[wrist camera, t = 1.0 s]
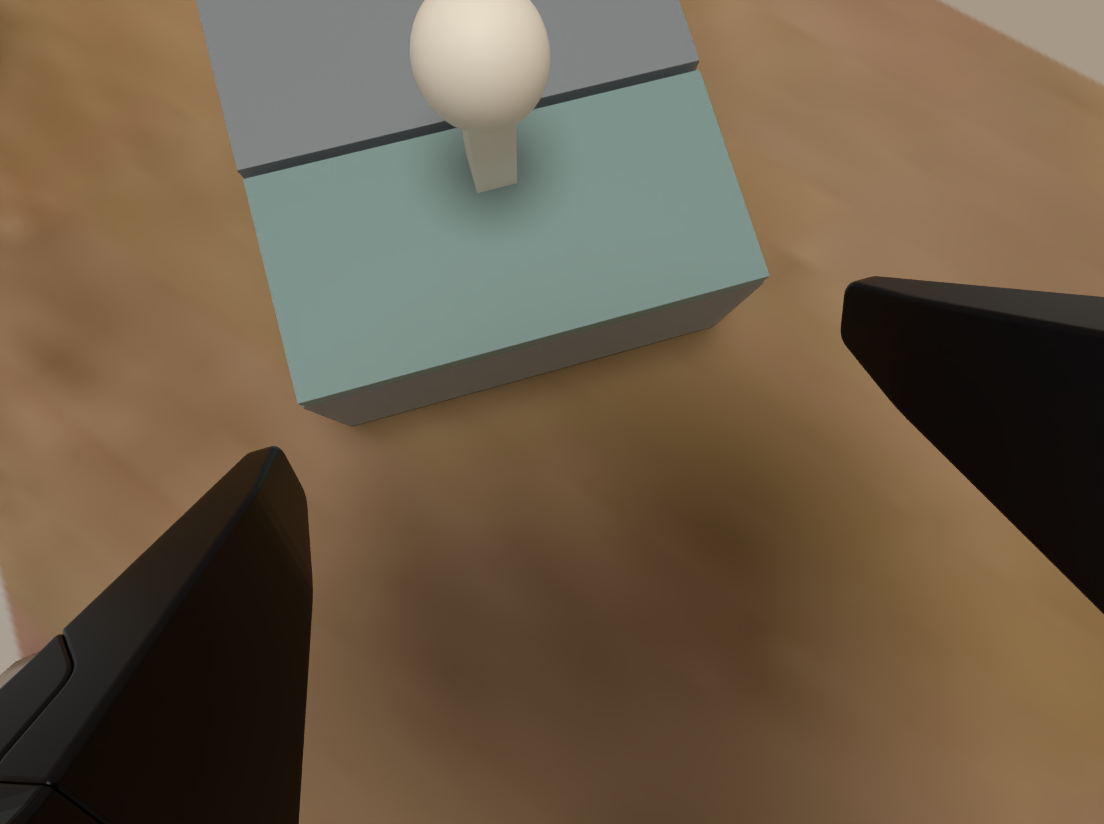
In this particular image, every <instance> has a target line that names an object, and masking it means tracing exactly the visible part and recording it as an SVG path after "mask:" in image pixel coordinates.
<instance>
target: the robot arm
mask: <svg viewBox="0 0 1104 824" xmlns="http://www.w3.org/2000/svg"><path fill="white" fill-rule="evenodd" d="M841 336H842V340H843V342H844V344H845V345H846V347H847V348H848V349H849V350H850V352H851V353H852V354H853V355H854V357H855V358H856V359H857V360H858V361H859V363H860V364H861V365H862V366H863V368H864V369H865V370H866V371H867V373H868V374H869V375H870V376H871V378H872V379H873V380H874V381H875V382H876V384H877V385H878V386H879V387H880V389H881V390H882V391H883V392H884V394H885V395H886V396H887V397H888V399H889V400H890V401H891V402H892V403H893V404H894V406H895V407H896V408H897V409H898V410H899V411H900V412H901V413H902V414H903V415H904V416H905V417H906V418H907V419H908V420H909V421H910V422H911V423H912V424H913V425H914V426H915V427H916V428H917V429H918V430H919V431H920V432H921V433H922V434H923V435H924V436H925V437H926V438H927V439H928V440H929V441H930V442H931V443H932V444H933V445H934V446H935V447H936V448H937V449H938V450H939V451H940V452H941V453H942V454H943V455H944V456H945V457H946V458H947V459H948V460H949V461H950V462H951V463H952V464H953V465H954V466H955V467H956V468H957V469H958V470H959V471H960V472H961V473H962V474H963V475H964V476H965V477H966V478H967V479H968V480H969V481H970V482H971V483H972V484H973V485H974V486H975V487H976V488H977V489H978V490H979V491H980V492H981V493H982V494H983V495H984V496H985V497H986V498H987V499H988V500H989V501H990V502H991V503H992V504H993V505H994V506H995V507H996V508H997V509H998V510H999V511H1000V512H1001V513H1002V514H1003V515H1004V516H1005V517H1006V518H1007V519H1008V520H1009V521H1010V522H1011V523H1012V524H1013V525H1014V526H1015V527H1016V528H1017V529H1018V530H1019V531H1020V532H1021V533H1022V534H1023V535H1024V536H1025V537H1026V538H1027V539H1028V540H1029V541H1031V542H1032V543H1033V544H1034V545H1035V546H1036V547H1037V548H1038V549H1039V550H1040V551H1041V552H1042V553H1043V554H1044V555H1045V556H1046V557H1047V558H1048V559H1049V560H1050V561H1051V562H1052V563H1053V564H1054V565H1055V566H1056V567H1057V568H1058V569H1059V570H1060V571H1061V572H1062V573H1063V574H1064V575H1065V576H1066V577H1067V578H1068V579H1069V580H1070V581H1071V582H1072V583H1073V584H1074V585H1075V586H1076V587H1077V588H1078V589H1079V590H1080V591H1081V592H1082V593H1083V594H1084V595H1085V596H1086V597H1087V598H1088V599H1089V600H1090V601H1091V602H1092V603H1093V604H1094V605H1095V606H1096V607H1097V608H1098V609H1099V610H1100V611H1101V612H1102V613H1103V614H1104V297H1097V296H1086V295H1075V294H1064V293H1053V292H1042V291H1032V290H1021V289H1010V288H999V287H988V286H977V285H966V284H955V283H944V282H933V281H922V280H912V279H901V278H890V277H879V276H873V277H868V278H865V279H861V280H858V281H854V282H852V283H850V284H849V285H848V286H847V288H846V290H845V294H844V302H843V312H842V321H841ZM312 602H313V582H312V566H311V552H310V538H309V523H308V509H307V500H306V496H305V492H304V490H303V488H302V486H301V484H300V482H299V480H298V478H297V476H296V474H295V472H294V471H293V469H292V467H291V465H290V463H289V461H288V459H287V458H286V456H285V454H284V452H283V451H282V450H281V449H280V448H279V447H277V446H271V447H267V448H264V449H260V450H257V451H253V452H250V453H248V454H247V455H246V456H244V457H243V458H242V459H241V460H240V461H239V462H238V463H237V464H236V465H235V466H234V467H233V468H232V469H231V470H230V471H229V472H228V473H227V474H226V475H225V476H223V477H222V478H221V479H220V480H219V481H218V482H217V483H216V484H215V485H214V486H213V487H212V488H211V489H210V490H209V491H208V492H207V493H206V494H205V495H204V496H203V497H201V498H200V499H199V500H198V501H197V502H196V503H195V504H194V505H193V506H192V507H191V508H190V509H189V510H188V511H187V512H186V513H185V514H184V515H183V516H182V517H181V518H179V519H178V520H177V521H176V522H175V523H174V524H173V525H172V526H171V527H170V528H169V529H168V530H167V531H166V532H165V533H164V534H163V535H162V536H161V537H160V538H158V539H157V540H156V541H155V542H154V543H153V544H152V545H151V546H150V547H149V548H148V549H147V550H146V551H145V552H144V553H143V554H142V555H141V556H140V557H139V558H138V559H136V560H135V561H134V562H133V563H132V564H131V565H130V566H129V567H128V568H127V569H126V570H125V571H124V572H123V573H122V574H121V575H120V576H119V577H118V578H117V579H116V580H114V581H113V582H112V583H111V584H110V585H109V586H108V587H107V588H106V589H105V590H104V591H103V592H102V593H101V594H100V595H99V596H98V597H97V598H96V599H95V600H93V601H92V602H91V603H90V604H89V605H88V606H87V607H86V608H85V609H84V610H83V611H82V612H81V613H80V614H79V615H78V616H77V617H76V618H75V619H74V620H73V621H71V622H70V623H69V624H68V625H67V626H66V627H65V628H64V629H63V635H61V634H60V635H57V636H55V637H54V638H53V639H52V640H51V641H50V642H49V643H48V644H47V645H46V646H45V647H44V648H43V649H42V650H41V651H40V652H39V653H38V654H37V655H36V656H35V657H34V658H33V659H31V660H30V661H29V662H28V663H27V664H26V665H25V666H24V667H23V668H22V669H21V670H20V671H19V672H17V673H16V674H15V675H14V676H13V677H12V678H11V679H10V680H9V681H8V682H7V683H6V684H5V685H3V686H2V687H1V688H0V824H299V809H300V793H301V778H302V762H303V746H304V730H305V714H306V699H307V683H308V667H309V651H310V636H311V620H312Z"/></svg>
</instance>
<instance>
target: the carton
mask: <svg viewBox="0 0 1104 824" xmlns="http://www.w3.org/2000/svg"><path fill="white" fill-rule="evenodd" d="M530 1H531V2H532V3H533V5H534V6H535V7H536V9H537V11H538V12H539V14H540V16H541V18H542V21H543V23H544V26H545V28H546V31H547V36H548V40H549V45H550V70H549V76H548V81H547V84H546V87H545V89H544V92H543V94H542V96H541V98H540V100H539V102H538V103H537V105H536V106H535V108H534V109H538V108H542V107H546V106H550V105H554V104H558V103H563V102H567V101H571V100H575V99H579V98H583V97H588V96H592V95H596V94H600V93H604V92H608V91H613V90H617V89H621V88H625V87H629V86H633V85H638V84H642V83H646V82H650V81H654V80H658V79H663V78H667V77H671V76H675V75H679V74H683V73H688V72H692V71H695V70H696V67H697V65H698V63H699V57H698V54H697V51H696V48H695V45H694V42H693V39H692V37H691V34H690V31H689V28H688V25H687V22H686V19H685V16H684V13H683V10H682V7H681V4H680V1H679V0H530ZM423 2H424V0H196V3H197V8H198V12H199V16H200V20H201V24H202V28H203V32H204V36H205V40H206V45H207V49H208V53H209V57H210V61H211V65H212V69H213V73H214V78H215V82H216V86H217V90H218V94H219V98H220V102H221V106H222V110H223V115H224V119H225V123H226V127H227V131H228V135H229V139H230V143H231V147H232V152H233V156H234V160H235V164H236V168H237V171H238V172H239V173H240V174H241V175H242V177H243V178H244V179H246V178H250V177H254V176H258V175H263V174H267V173H271V172H275V171H279V170H283V169H288V168H292V167H296V166H300V165H304V164H308V163H313V162H317V161H321V160H325V159H329V158H333V157H338V156H342V155H346V154H350V153H354V152H358V151H363V150H367V149H371V148H375V147H379V146H383V145H388V144H392V143H396V142H400V141H404V140H408V139H413V138H417V137H421V136H425V135H429V134H433V133H438V132H442V131H446V130H450V129H454V128H457V127H454V126H452V125H451V124H449V123H448V122H446V121H445V120H443V119H442V118H441V117H440V116H438V115H437V114H436V112H435V111H434V110H433V109H432V108H431V107H430V106H429V105H428V103H427V102H426V100H425V99H424V97H423V96H422V94H421V92H420V90H419V88H418V86H417V83H416V80H415V78H414V75H413V71H412V66H411V60H410V36H411V32H412V27H413V23H414V20H415V17H416V15H417V12H418V10H419V8H420V7H421V5H422V3H423ZM763 283H764V281H763V282H762V283H759V284H756V285H752V286H748V287H744V288H741V289H737V290H733V291H730V292H726V293H722V294H719V295H715V296H711V297H708V298H704V299H700V300H697V301H693V302H689V303H686V304H682V305H678V306H675V307H671V308H667V309H663V310H660V311H656V312H652V313H649V314H645V315H641V316H638V317H634V318H630V319H627V320H623V321H619V322H616V323H612V324H608V325H605V326H601V327H597V328H594V329H590V330H586V331H582V332H579V333H575V334H571V335H568V336H564V337H560V338H557V339H553V340H549V341H546V342H542V343H538V344H535V345H531V346H527V347H524V348H520V349H516V350H513V351H509V352H505V353H501V354H498V355H494V356H490V357H487V358H483V359H479V360H476V361H472V362H468V363H465V364H461V365H457V366H454V367H450V368H446V369H443V370H439V371H435V372H432V373H428V374H424V375H420V376H417V377H413V378H409V379H406V380H402V381H398V382H395V383H391V384H387V385H384V386H380V387H376V388H373V389H369V390H365V391H362V392H358V393H354V394H351V395H347V396H343V397H339V398H336V399H332V400H328V401H325V402H321V403H317V404H314V405H310V406H306V407H305V406H302V408H304V409H307V410H309V411H312V412H314V413H317V414H320V415H322V416H325V417H328V418H330V419H333V420H336V421H338V422H341V423H344V424H346V425H349V426H355V425H358V424H362V423H366V422H369V421H373V420H377V419H380V418H384V417H387V416H391V415H395V414H398V413H402V412H406V411H409V410H413V409H416V408H420V407H424V406H427V405H431V404H435V403H438V402H442V401H445V400H449V399H453V398H456V397H460V396H464V395H467V394H471V393H474V392H478V391H482V390H485V389H489V388H493V387H496V386H500V385H503V384H507V383H511V382H514V381H518V380H522V379H525V378H529V377H532V376H536V375H540V374H543V373H547V372H551V371H554V370H558V369H561V368H565V367H569V366H572V365H576V364H580V363H583V362H587V361H590V360H594V359H598V358H601V357H605V356H609V355H612V354H616V353H619V352H623V351H627V350H630V349H634V348H638V347H641V346H645V345H648V344H652V343H656V342H659V341H663V340H667V339H670V338H674V337H677V336H681V335H685V334H688V333H692V332H696V331H699V330H703V329H706V328H710V327H713V326H715V325H716V324H717V323H718V322H719V321H720V320H722V319H723V318H724V317H725V316H726V315H727V314H728V313H730V312H731V311H732V310H733V309H734V308H735V307H737V306H738V305H739V304H740V303H741V302H742V301H743V300H745V299H746V298H747V297H748V296H749V295H750V294H752V293H753V292H754V291H755V290H756V289H757V288H758V287H760V286H761V285H762V284H763Z"/></svg>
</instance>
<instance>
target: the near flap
mask: <svg viewBox="0 0 1104 824" xmlns="http://www.w3.org/2000/svg"><path fill="white" fill-rule="evenodd" d="M410 60H411V66H412V71H413V75H414V78H415V80H416V83H417V86H418V88H419V90H420V92H421V94H422V96H423V97H424V99H425V100H426V102H427V103H428V105H429V106H430V107H431V108H432V109H433V110H434V111H435V112H436V114H437V115H438V116H440V117H441V118H442V119H443V120H445V121H446V122H448V123H449V124H451V125H452V126H454V127H457V128H454V129H450V130H446V131H442V132H438V133H433V134H429V135H425V136H421V137H417V138H413V139H408V140H404V141H400V142H396V143H392V144H388V145H383V146H379V147H375V148H371V149H367V150H363V151H358V152H354V153H350V154H346V155H342V156H338V157H333V158H329V159H325V160H321V161H317V162H313V163H308V164H304V165H300V166H296V167H292V168H288V169H283V170H279V171H275V172H271V173H267V174H263V175H258V176H254V177H250V178H246V179H243V182H244V186H245V190H246V194H247V198H248V202H249V206H250V210H251V214H252V218H253V223H254V227H255V231H256V235H257V239H258V243H259V247H260V251H261V255H262V259H263V264H264V268H265V272H266V276H267V280H268V284H269V288H270V292H271V296H272V300H273V305H274V309H275V313H276V317H277V321H278V325H279V329H280V333H281V337H282V342H283V346H284V350H285V354H286V358H287V362H288V366H289V370H290V374H291V378H292V383H293V387H294V391H295V395H296V399H297V403H298V404H300V405H302V406H305V407H306V406H310V405H314V404H317V403H321V402H325V401H328V400H332V399H336V398H339V397H343V396H347V395H351V394H354V393H358V392H362V391H365V390H369V389H373V388H376V387H380V386H384V385H387V384H391V383H395V382H398V381H402V380H406V379H409V378H413V377H417V376H420V375H424V374H428V373H432V372H435V371H439V370H443V369H446V368H450V367H454V366H457V365H461V364H465V363H468V362H472V361H476V360H479V359H483V358H487V357H490V356H494V355H498V354H501V353H505V352H509V351H513V350H516V349H520V348H524V347H527V346H531V345H535V344H538V343H542V342H546V341H549V340H553V339H557V338H560V337H564V336H568V335H571V334H575V333H579V332H582V331H586V330H590V329H594V328H597V327H601V326H605V325H608V324H612V323H616V322H619V321H623V320H627V319H630V318H634V317H638V316H641V315H645V314H649V313H652V312H656V311H660V310H663V309H667V308H671V307H675V306H678V305H682V304H686V303H689V302H693V301H697V300H700V299H704V298H708V297H711V296H715V295H719V294H722V293H726V292H730V291H733V290H737V289H741V288H744V287H748V286H752V285H756V284H759V283H762V282H763V281H764V280H765V279H767V278H768V277H769V273H768V270H767V267H766V264H765V261H764V258H763V255H762V252H761V249H760V246H759V243H758V240H757V237H756V234H755V231H754V229H753V226H752V223H751V220H750V217H749V214H748V211H747V208H746V205H745V202H744V199H743V196H742V193H741V190H740V187H739V184H738V182H737V179H736V176H735V173H734V170H733V167H732V164H731V161H730V158H729V155H728V152H727V149H726V146H725V143H724V140H723V137H722V135H721V132H720V129H719V126H718V123H717V120H716V117H715V114H714V111H713V108H712V105H711V102H710V99H709V96H708V93H707V90H706V88H705V85H704V82H703V79H702V76H701V73H700V70H696V71H692V72H688V73H683V74H679V75H675V76H671V77H667V78H663V79H658V80H654V81H650V82H646V83H642V84H638V85H633V86H629V87H625V88H621V89H617V90H613V91H608V92H604V93H600V94H596V95H592V96H588V97H583V98H579V99H575V100H571V101H567V102H563V103H558V104H554V105H550V106H546V107H542V108H538V109H534V108H535V106H536V105H537V103H538V102H539V100H540V98H541V96H542V94H543V92H544V89H545V87H546V84H547V81H548V76H549V70H550V45H549V40H548V36H547V31H546V28H545V26H544V23H543V21H542V18H541V16H540V14H539V12H538V11H537V9H536V7H535V6H534V5H533V3H532V2H531V1H530V0H424V2H423V3H422V5H421V7H420V8H419V10H418V12H417V15H416V17H415V20H414V23H413V27H412V32H411V36H410Z"/></svg>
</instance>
